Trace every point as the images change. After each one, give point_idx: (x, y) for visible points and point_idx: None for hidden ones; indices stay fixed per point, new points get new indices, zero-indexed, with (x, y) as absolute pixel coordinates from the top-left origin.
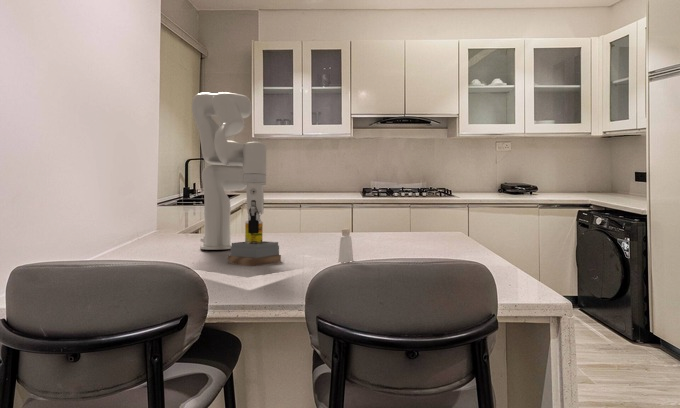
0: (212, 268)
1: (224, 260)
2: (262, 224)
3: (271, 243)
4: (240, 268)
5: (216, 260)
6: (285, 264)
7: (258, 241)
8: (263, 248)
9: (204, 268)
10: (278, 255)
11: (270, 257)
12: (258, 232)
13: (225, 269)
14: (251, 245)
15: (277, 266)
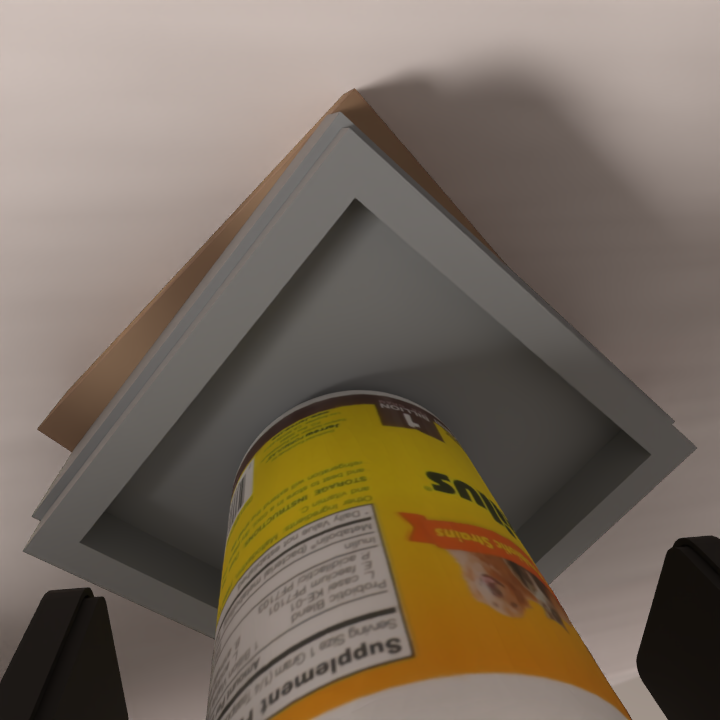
0: (629, 610)
1: (165, 638)
2: (460, 644)
3: (481, 250)
4: (695, 444)
5: (165, 689)
6: (563, 39)
7: (468, 457)
8: (584, 341)
9: (613, 650)
10: (384, 124)
11: (471, 228)
12: (714, 538)
13: (706, 529)
14: (626, 494)
15: (688, 138)
